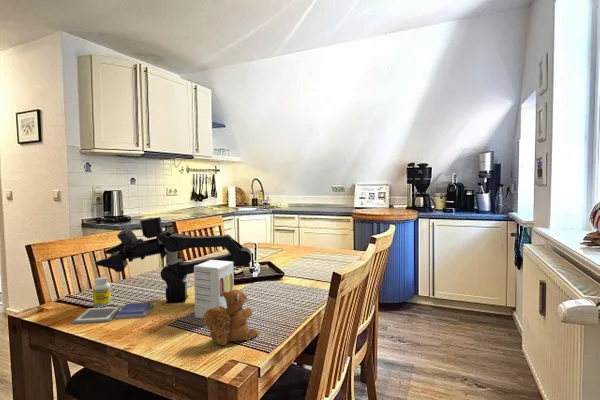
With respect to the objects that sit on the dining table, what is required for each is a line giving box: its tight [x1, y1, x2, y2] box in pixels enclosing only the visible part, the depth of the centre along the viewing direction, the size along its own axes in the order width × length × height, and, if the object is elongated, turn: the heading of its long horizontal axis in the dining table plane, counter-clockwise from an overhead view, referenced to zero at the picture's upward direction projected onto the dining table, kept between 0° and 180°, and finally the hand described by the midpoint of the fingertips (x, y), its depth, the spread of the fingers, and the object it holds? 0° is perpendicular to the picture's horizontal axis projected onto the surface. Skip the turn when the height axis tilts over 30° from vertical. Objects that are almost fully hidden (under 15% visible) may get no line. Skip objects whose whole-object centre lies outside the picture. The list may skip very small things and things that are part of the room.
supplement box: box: [193, 260, 235, 320], centre depth 115 cm, size 10×9×17 cm
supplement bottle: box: [92, 276, 112, 308], centre depth 123 cm, size 5×5×10 cm
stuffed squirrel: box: [202, 288, 260, 347], centre depth 98 cm, size 10×14×13 cm
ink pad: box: [114, 302, 154, 320], centre depth 117 cm, size 9×9×2 cm
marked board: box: [70, 306, 123, 325], centre depth 114 cm, size 11×11×1 cm
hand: (100, 257), depth 124 cm, fingers open, 9 cm apart
